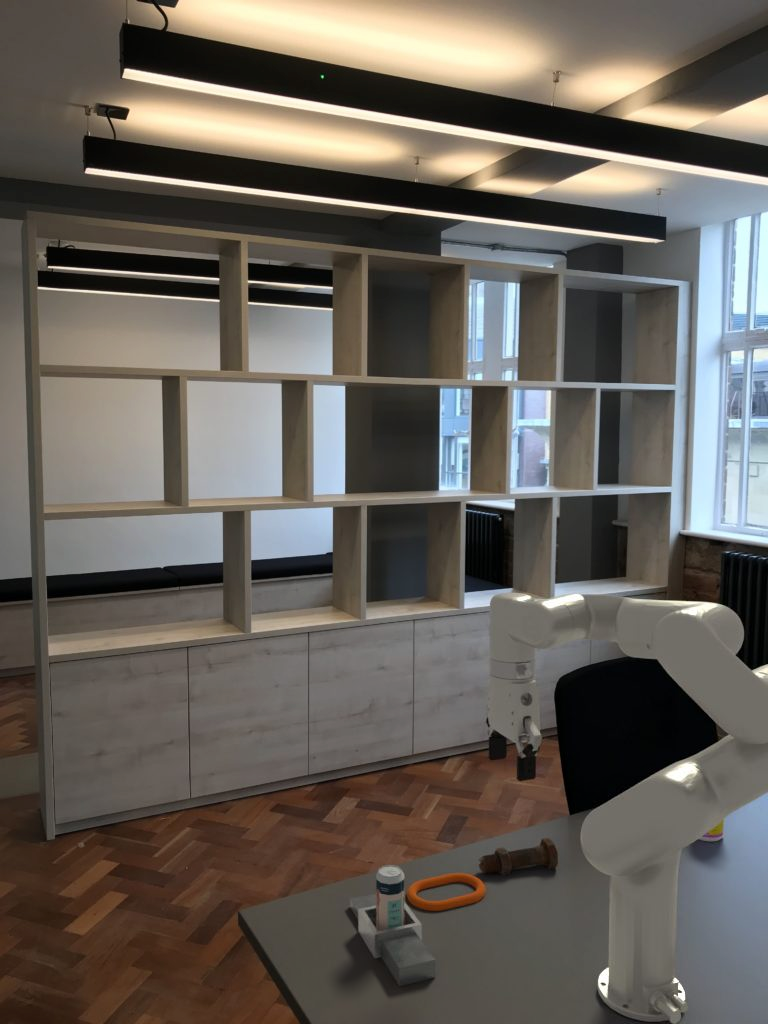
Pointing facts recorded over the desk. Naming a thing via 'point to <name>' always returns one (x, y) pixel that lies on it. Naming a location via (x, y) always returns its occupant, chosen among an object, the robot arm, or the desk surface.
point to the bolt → (520, 858)
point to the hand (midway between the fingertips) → (511, 768)
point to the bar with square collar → (395, 942)
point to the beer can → (389, 897)
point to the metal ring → (448, 902)
